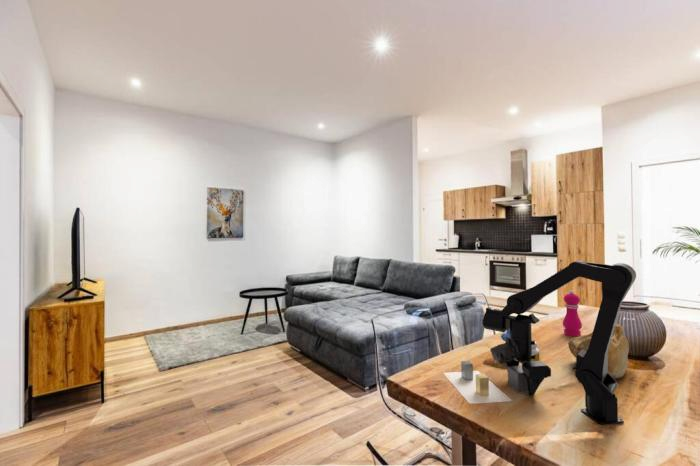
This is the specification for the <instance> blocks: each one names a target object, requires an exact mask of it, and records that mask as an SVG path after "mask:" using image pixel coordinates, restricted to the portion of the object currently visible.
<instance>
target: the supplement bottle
mask: <svg viewBox="0 0 700 466" xmlns="http://www.w3.org/2000/svg"><path fill="white" fill-rule="evenodd" d="M537 347H538V343H537V341H535V345H532V354H534V355H535V359H531V360H530V361H540V350H539V348H537ZM522 365H523V364H522V363H521V366H522Z"/></svg>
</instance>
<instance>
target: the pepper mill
mask: <svg viewBox="0 0 700 466" xmlns="http://www.w3.org/2000/svg"><path fill="white" fill-rule="evenodd" d="M568 292H569V293H566V294H564V297H563V301H564V302H565V308H566V312H565V316H564V318H563V321H562V326H563V327H564V329H563V333H564V335H567V336H570V337H578V336H582V335H581V334H582V333H581V329H582V327H583V326H582V324H583V323H582V321H581V319H580V316H579V314H578V309H579V303H580V302H581V301H580V296H579V295H578V294H576V293H575V291H574V290H572V289H570V290H569V291H568Z"/></svg>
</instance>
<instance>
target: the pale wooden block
mask: <svg viewBox="0 0 700 466" xmlns="http://www.w3.org/2000/svg"><path fill="white" fill-rule="evenodd" d="M489 381H490V379H489V377H488V376H487V374H485V373H481V374H476V392H477V393H478V394H479V395H480V396H488V395H489Z"/></svg>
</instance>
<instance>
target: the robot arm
mask: <svg viewBox="0 0 700 466" xmlns="http://www.w3.org/2000/svg"><path fill="white" fill-rule="evenodd" d="M578 278H584V279H587V280H590V281H595V282H600V283H601V296H602V297H601V301H600V305H599V309H598V313H597V317H596V320H595V324H594V326H593V330H592V332H593V334H592V337H591V341H590V344H589V348H588V350H587V351H585V350H584V349H582V350H581V351H580V352H579V353H578V354H577V358H575V365H574V366H573V368H572V370H575V372H574V375H575V378H576V380H577V381H578V382H579V384H581V385H582V388H583V390H584V393H585V394H584V398H585V400H584V401H585V403H584V405H585V407H584V408H580V412H582V413H583V414H584V415H586V416H587V417H589V418H590V419H592V420H593V421H594V422H596V423H597V424H599V425H608V424H609V425H610V424H623V423H625V420H624V419H623V418H621V417H619V415H618V414H619V413H618V411H619V410H618V409H619V407H618V405H619V404H618V397H617V396H616V394H615V391H616V389H617V388H618V385H619V382H618V381H617V380H616V378H615V379H614V378H613V377H612V376H611V375H610V374H609V373H608V354H607V353H608V349H609V345H610V342H611V338H612V335H613V331H614V328H615V324H617V322H618V317H619V314H620V311H621V306H622V304H623V301H624V300H625V298H626V296H627V295H628V293H629V291H630V290H631V288H632V286H633V284H634V282H635V281H636V278H637V273H636V270H635V269H634V268H633V267H632V266H631V265H630V264H626V263H621V262H620V263H619V262H618V263H614V264H611V265H610V264H604V263H599V262H597V263H596V262H587V261H585V260H584V261H583V260H575V261H572V262H571V263H569V264H568V265H567V266H566V267H564V268H562V269H561V270H559V271H557V272H556V273H554V274H552V275H551V276H549V277H547V278H545V279H544V280H543V281H541V282H539V283H537V284H536V285H534V286H532V287H530V288H527V289H525V290H521V291H519V292H516V293H514V294H511V295H510V296H508V297H507V299H506V305H505V306H504V307H503V309H499V308H494V307H491V306H490V307H489V306H488V307H486V308H485V313H484V314H483V319H482V326H483V328H484V330H489V331H495V332H499V333H506V332H507V331H506V330H508V329H509V328H510V337H507V338H506V342H504V343H501V344H497V345H495V346H493V347H491V348H490V352H491V356H492V358H494V360H496V361H497V362H498V363H499V364H504V363H505V365H506V368H507V369H506V371H507V372H508V366H520V364H521V366H522V370H523V372H524V373H522V374H523V375H524V376H525V377H526V378H527V386H528V392H527V393H528V396H529V397H533V396H535V393H536V392H537V390H538V388H539V387H540V386H541V384H542V382H543V381H544V380H545V379H546V378H547V379H548V378H550V377H551V376H552V368H551V367H550V366H549V365H547V364H546V363H544V362H543V361H540V360H539V361H530V360H531V359H535V355H534V354H532V345H535V342H536V341H535V340H533V338H532V337H533V336H532V324H533V325H535V324H538V322H540V319H539V318H538V317H536V316H535V314H534V313H530V314H528V315H527V314H524V313H526V312H528V311H530V310H532V309H533V308H534V307H536V306H537V304H539V303H540V301H542V300H543V298H545V297H547V296H548V295H550V294H552V293H553V292H556V291H557V290H559V289H561V288H562V287H564V286H565V285H566V286H567V285H568V284H569V283H571V282H573V281H575V280H576V279H578ZM513 314H515V315H516V316H515V315H513ZM522 364H523V365H522Z"/></svg>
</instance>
